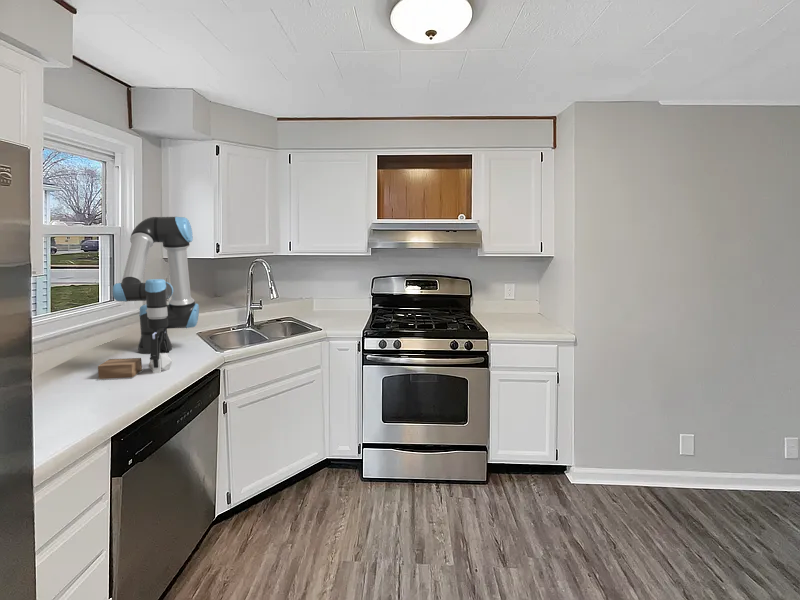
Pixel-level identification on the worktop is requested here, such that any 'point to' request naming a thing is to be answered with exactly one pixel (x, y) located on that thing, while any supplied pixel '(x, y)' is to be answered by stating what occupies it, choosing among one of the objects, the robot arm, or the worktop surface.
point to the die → (162, 362)
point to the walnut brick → (120, 368)
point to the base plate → (119, 378)
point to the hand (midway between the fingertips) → (160, 372)
